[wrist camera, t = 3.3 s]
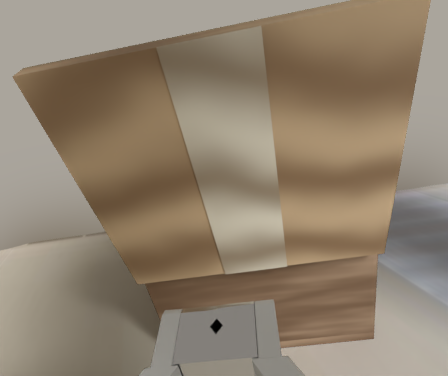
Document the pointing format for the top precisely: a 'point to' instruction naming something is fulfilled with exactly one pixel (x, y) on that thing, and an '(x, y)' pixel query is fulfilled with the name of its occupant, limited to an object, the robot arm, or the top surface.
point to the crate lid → (241, 137)
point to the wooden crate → (290, 298)
